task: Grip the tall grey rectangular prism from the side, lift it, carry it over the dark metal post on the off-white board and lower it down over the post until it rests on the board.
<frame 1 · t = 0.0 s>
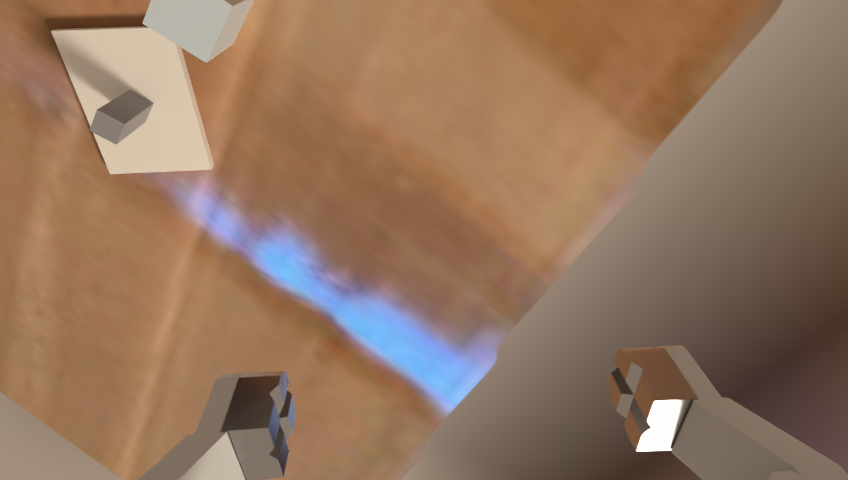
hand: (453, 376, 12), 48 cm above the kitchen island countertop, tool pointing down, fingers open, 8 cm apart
tall grey rectangular prism: (218, 2, 49), on the kitchen island countertop
post board: (142, 102, 54), on the kitchen island countertop
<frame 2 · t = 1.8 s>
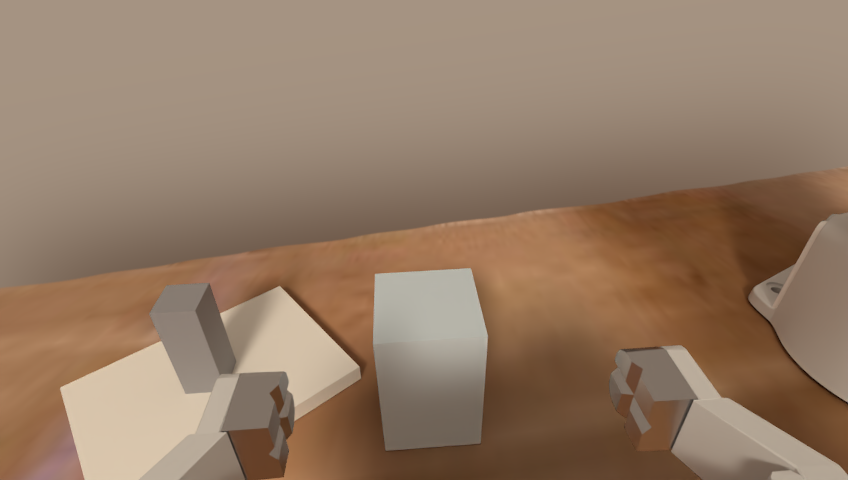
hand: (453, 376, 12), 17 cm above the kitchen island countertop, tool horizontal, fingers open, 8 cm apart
tall grey rectangular prism: (429, 407, 31), on the kitchen island countertop
post board: (216, 388, 33), on the kitchen island countertop
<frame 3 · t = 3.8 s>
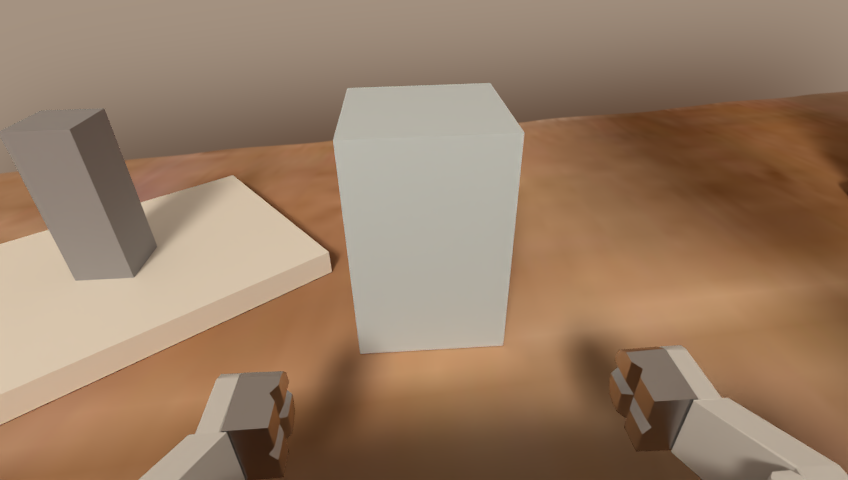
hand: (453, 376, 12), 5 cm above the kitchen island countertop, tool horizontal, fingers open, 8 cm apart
tall grey rectangular prism: (427, 303, 22), on the kitchen island countertop
post board: (127, 282, 23), on the kitchen island countertop
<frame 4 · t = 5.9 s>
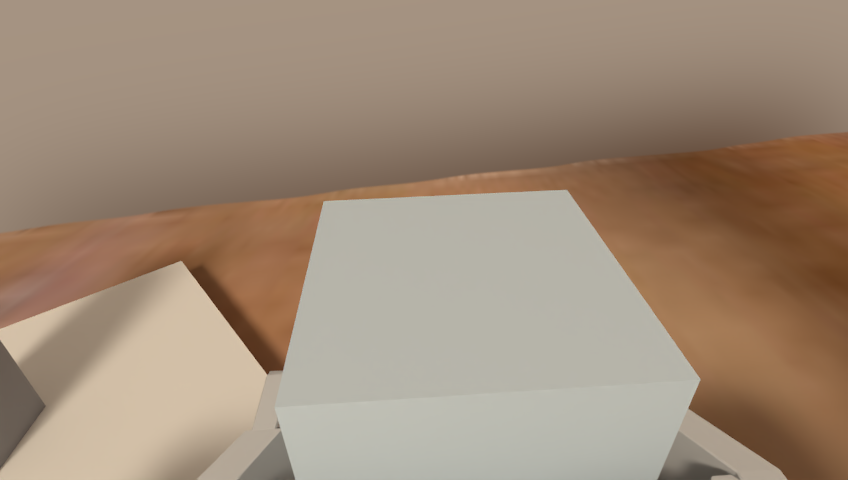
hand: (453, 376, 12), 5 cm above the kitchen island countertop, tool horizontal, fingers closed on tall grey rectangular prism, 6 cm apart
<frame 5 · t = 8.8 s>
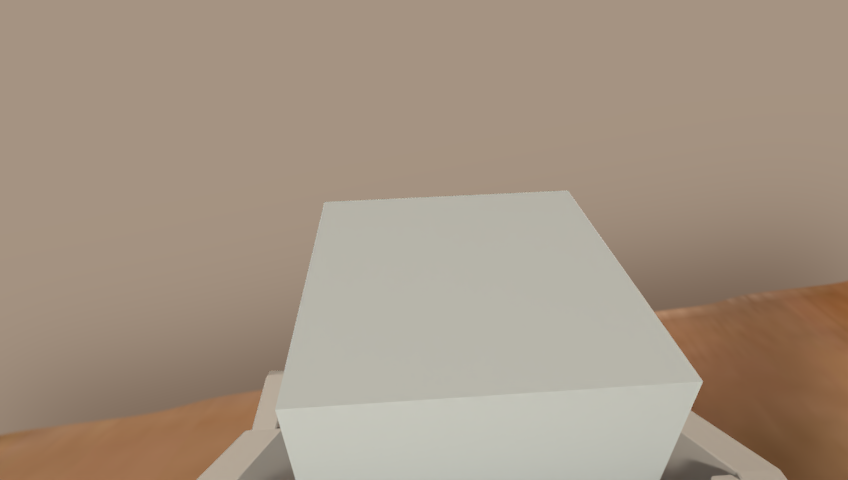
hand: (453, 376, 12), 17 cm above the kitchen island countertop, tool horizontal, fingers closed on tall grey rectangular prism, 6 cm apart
when the fingers open (8 cm above the kitchen island countertop, at t = 11.6 s): tall grey rectangular prism drops 1 cm, resting on post board.
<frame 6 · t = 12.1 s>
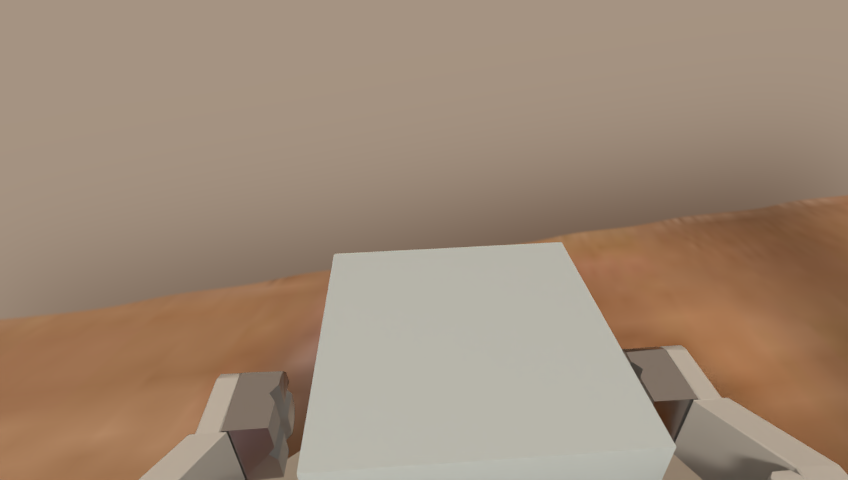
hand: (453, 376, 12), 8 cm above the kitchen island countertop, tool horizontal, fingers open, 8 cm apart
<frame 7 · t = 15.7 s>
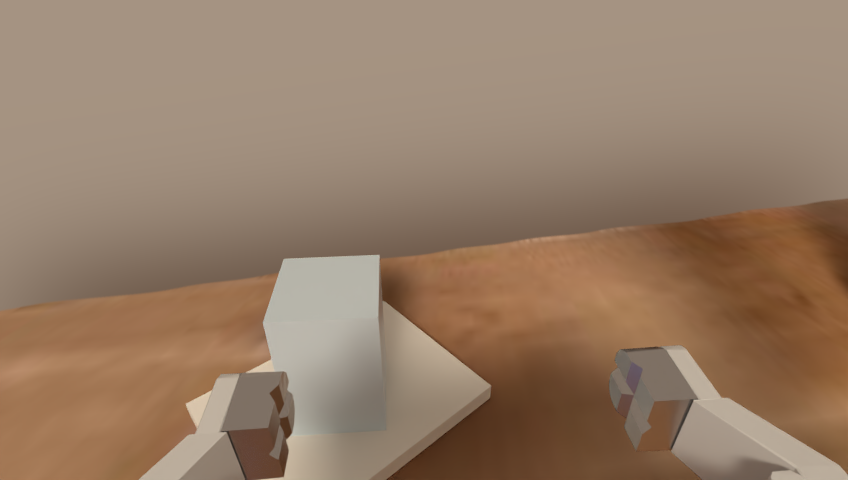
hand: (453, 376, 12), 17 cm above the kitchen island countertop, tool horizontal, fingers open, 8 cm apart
tall grey rectangular prism: (342, 394, 31), point 1 cm above the kitchen island countertop, touching post board
post board: (343, 406, 32), on the kitchen island countertop
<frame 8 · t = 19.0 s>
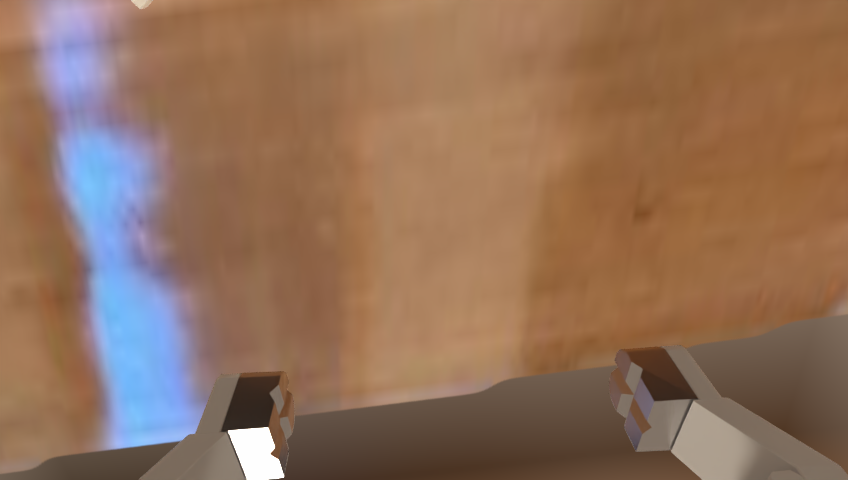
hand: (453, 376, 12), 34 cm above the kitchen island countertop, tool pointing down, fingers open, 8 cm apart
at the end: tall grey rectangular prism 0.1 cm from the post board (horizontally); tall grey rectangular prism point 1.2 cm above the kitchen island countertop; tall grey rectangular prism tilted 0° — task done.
